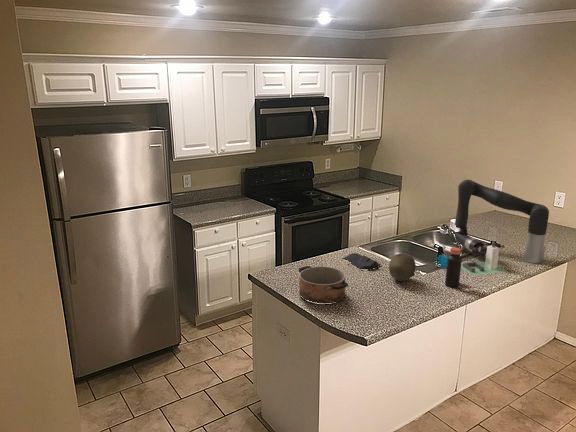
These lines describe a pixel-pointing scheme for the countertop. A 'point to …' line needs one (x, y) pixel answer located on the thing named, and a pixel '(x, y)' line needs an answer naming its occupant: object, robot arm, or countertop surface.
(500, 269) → the board
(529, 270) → the countertop surface
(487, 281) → the countertop surface
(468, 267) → the header
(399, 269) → the cantaloupe
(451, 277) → the bottle
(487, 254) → the plug
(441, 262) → the gear
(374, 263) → the dark blue flat piece
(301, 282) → the cooking pot
